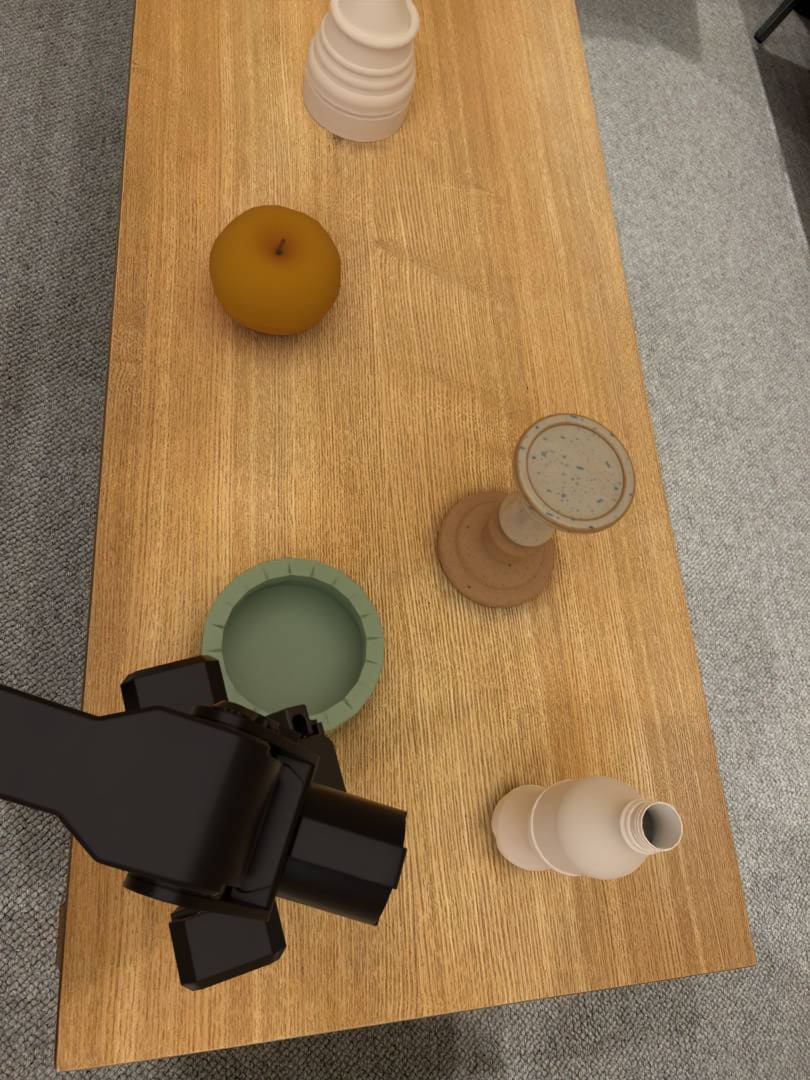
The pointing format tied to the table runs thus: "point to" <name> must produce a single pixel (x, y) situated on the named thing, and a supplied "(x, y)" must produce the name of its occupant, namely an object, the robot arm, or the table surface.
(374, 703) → the table surface
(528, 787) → the water bottle
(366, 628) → the bowl
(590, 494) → the candle holder
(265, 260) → the apple
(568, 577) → the table surface
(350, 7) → the honey pot
